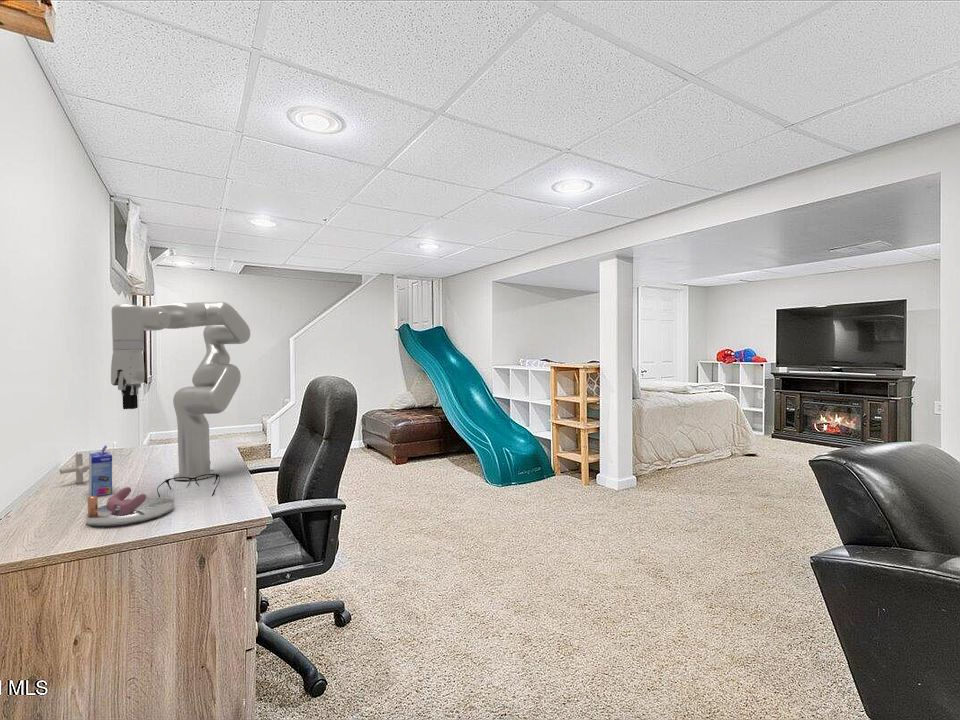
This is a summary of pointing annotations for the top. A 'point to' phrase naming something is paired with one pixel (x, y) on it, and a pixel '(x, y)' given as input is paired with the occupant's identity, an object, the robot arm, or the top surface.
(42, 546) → the top surface
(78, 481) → the pipe connector
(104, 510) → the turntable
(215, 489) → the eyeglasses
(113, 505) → the video game controller
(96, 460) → the ink cartridge box
